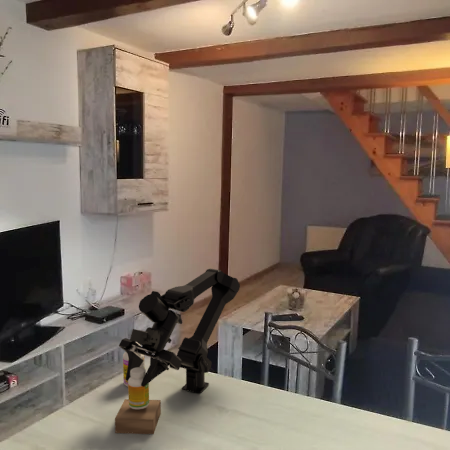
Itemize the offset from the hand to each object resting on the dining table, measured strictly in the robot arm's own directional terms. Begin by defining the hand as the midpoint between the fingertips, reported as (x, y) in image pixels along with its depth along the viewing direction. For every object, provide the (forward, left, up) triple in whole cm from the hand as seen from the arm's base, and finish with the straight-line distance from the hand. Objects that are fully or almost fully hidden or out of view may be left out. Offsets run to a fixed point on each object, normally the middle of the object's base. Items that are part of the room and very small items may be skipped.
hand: (134, 383), depth 125 cm
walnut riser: (-1, 0, -12) cm, 12 cm away
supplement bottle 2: (-1, 0, -7) cm, 7 cm away
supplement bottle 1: (-20, -14, -12) cm, 27 cm away
